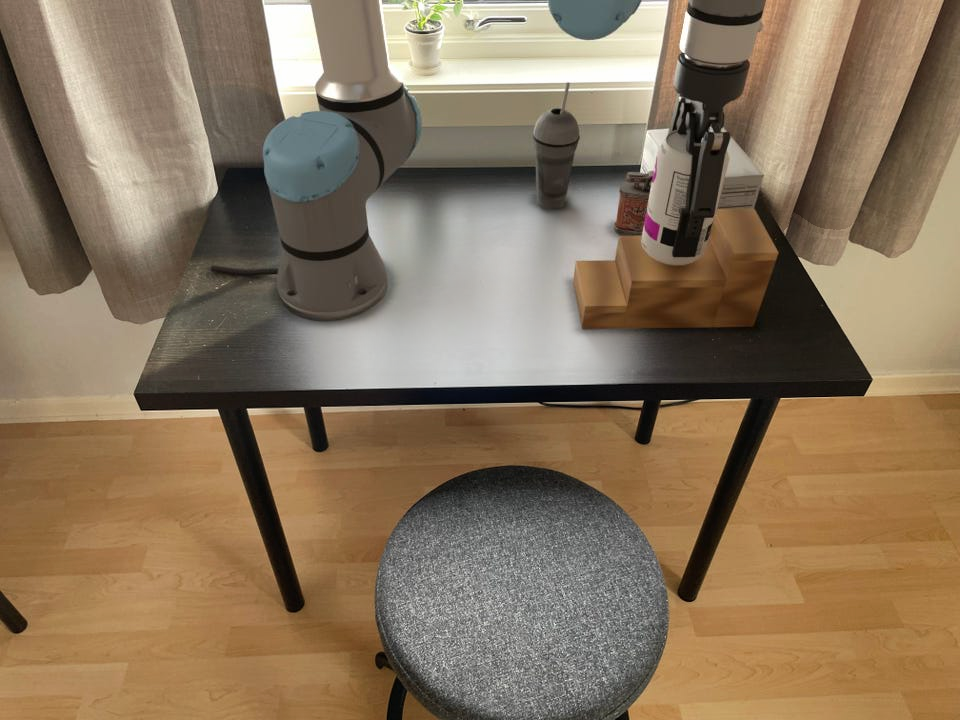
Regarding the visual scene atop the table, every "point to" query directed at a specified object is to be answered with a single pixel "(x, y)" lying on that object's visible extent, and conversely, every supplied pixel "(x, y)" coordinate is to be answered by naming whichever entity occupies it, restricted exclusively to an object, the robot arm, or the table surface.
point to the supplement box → (738, 179)
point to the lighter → (633, 204)
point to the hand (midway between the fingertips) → (675, 234)
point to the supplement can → (672, 201)
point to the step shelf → (681, 281)
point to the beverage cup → (554, 154)
